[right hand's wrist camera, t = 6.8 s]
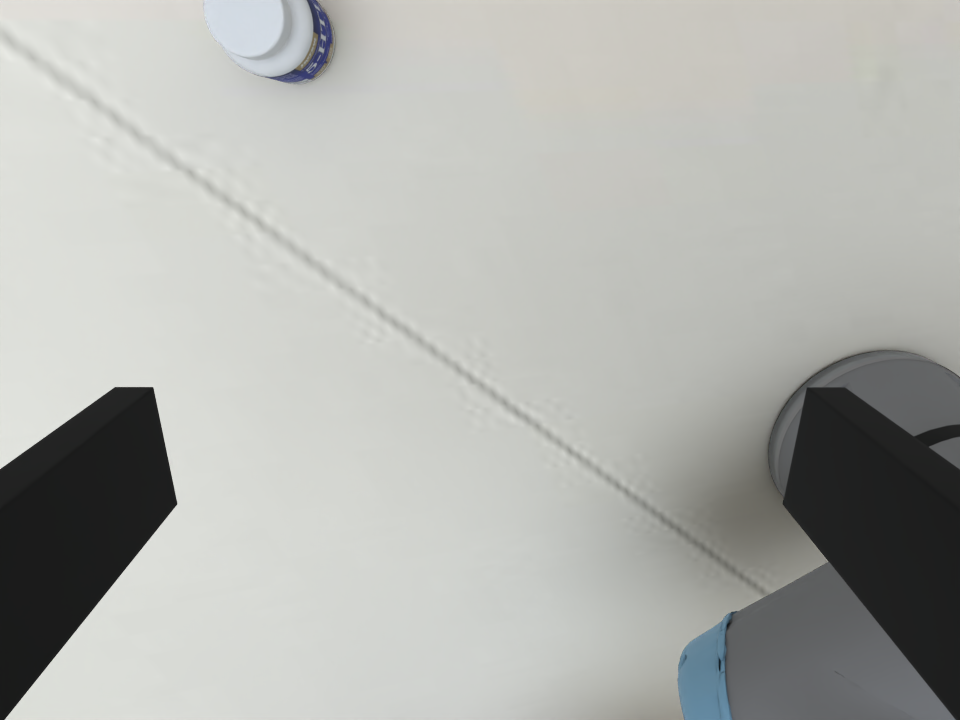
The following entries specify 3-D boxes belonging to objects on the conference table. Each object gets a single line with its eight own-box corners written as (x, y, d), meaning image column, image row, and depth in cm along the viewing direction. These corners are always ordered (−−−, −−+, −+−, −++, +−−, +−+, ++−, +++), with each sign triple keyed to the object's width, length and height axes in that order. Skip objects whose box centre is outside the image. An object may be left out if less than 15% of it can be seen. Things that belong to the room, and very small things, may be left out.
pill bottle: (336, 87, 39) (298, 77, 31) (254, 80, 39) (193, 68, 31) (336, -7, 38) (295, -45, 29) (249, -15, 37) (184, -55, 29)
